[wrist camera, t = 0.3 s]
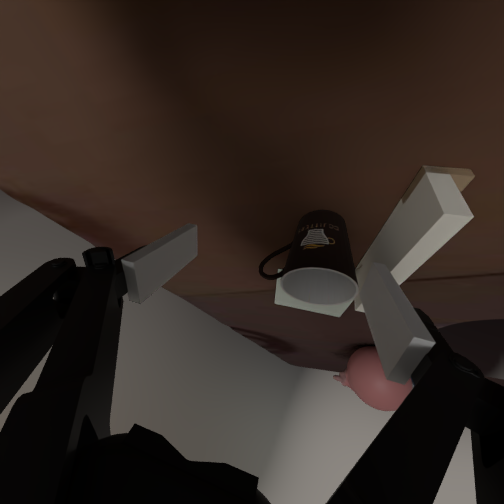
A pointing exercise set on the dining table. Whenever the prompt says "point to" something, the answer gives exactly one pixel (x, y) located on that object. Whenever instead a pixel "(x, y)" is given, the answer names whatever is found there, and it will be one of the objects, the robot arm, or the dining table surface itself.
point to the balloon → (372, 381)
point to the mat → (289, 301)
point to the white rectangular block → (419, 224)
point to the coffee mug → (318, 262)
